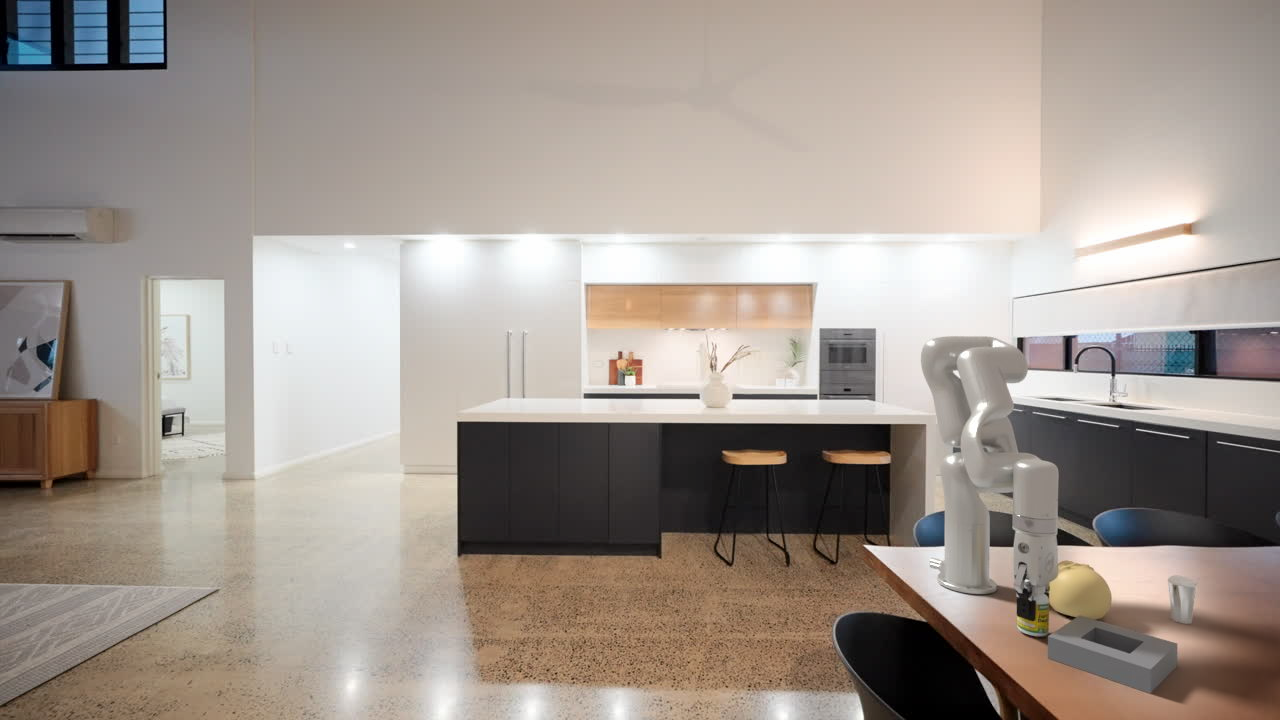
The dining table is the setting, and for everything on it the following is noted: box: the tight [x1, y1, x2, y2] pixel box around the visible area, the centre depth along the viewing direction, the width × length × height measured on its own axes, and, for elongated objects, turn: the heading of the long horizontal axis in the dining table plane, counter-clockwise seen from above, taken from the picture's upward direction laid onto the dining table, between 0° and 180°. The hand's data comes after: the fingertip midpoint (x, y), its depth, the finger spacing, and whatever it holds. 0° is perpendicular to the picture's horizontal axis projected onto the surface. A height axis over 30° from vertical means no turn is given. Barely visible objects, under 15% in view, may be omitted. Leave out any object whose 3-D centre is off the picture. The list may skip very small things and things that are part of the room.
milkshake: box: [1167, 574, 1202, 625], centre depth 131 cm, size 5×5×10 cm
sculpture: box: [1048, 560, 1113, 620], centre depth 135 cm, size 11×12×11 cm
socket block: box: [1047, 616, 1178, 695], centre depth 114 cm, size 15×15×4 cm
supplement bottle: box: [1016, 579, 1050, 637], centre depth 126 cm, size 5×5×10 cm
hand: (1032, 613), depth 126 cm, fingers closed on supplement bottle, 5 cm apart
